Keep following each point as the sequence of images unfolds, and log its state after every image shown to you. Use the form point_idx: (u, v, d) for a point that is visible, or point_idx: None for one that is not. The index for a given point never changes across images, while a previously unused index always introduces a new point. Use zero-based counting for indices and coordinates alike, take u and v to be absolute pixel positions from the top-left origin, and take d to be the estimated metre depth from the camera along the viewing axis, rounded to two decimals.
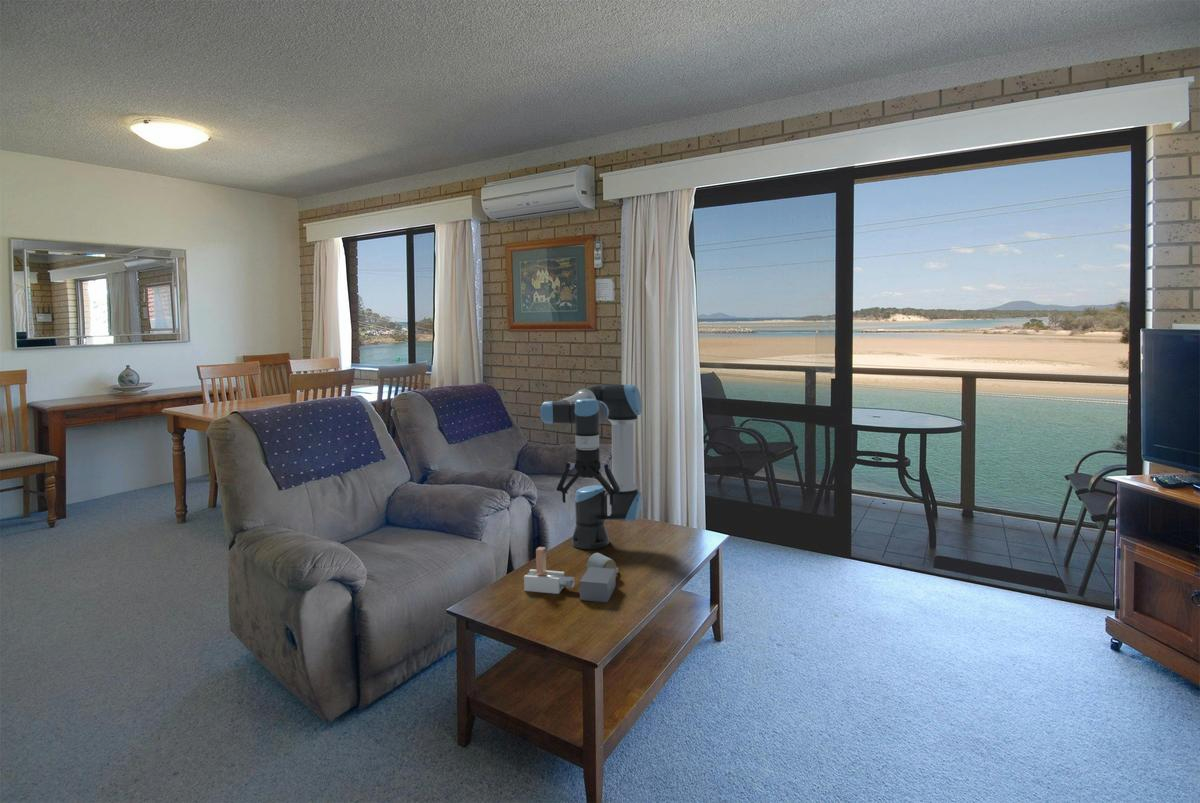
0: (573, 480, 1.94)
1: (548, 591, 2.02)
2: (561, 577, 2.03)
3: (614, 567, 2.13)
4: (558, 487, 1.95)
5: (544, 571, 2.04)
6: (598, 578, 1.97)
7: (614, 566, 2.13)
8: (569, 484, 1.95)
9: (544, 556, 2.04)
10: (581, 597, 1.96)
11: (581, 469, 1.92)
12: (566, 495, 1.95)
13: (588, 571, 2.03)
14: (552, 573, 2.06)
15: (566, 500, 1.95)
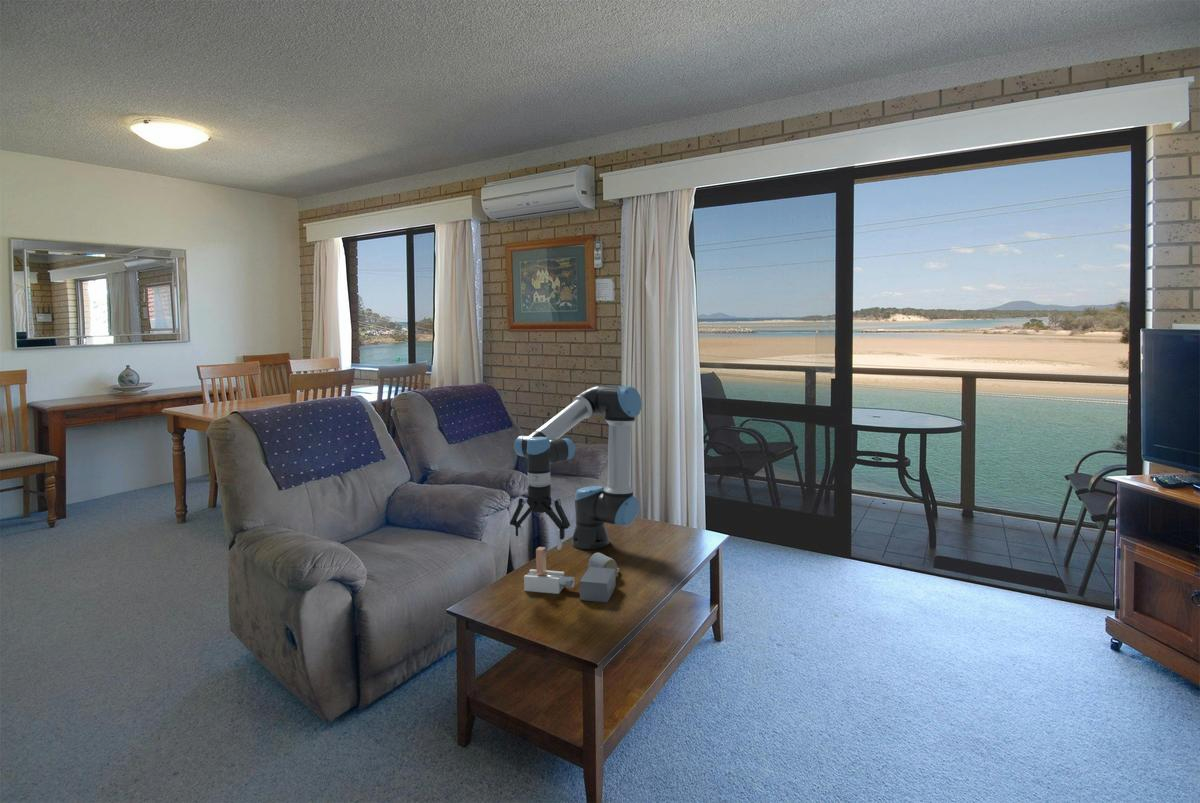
0: (525, 515, 2.02)
1: (548, 591, 2.02)
2: (561, 577, 2.03)
3: (615, 567, 2.13)
4: (511, 521, 2.04)
5: (544, 571, 2.04)
6: (598, 578, 1.97)
7: (615, 566, 2.13)
8: (522, 519, 2.03)
9: (544, 556, 2.04)
10: (581, 597, 1.96)
11: (533, 505, 2.01)
12: (519, 529, 2.03)
13: (588, 571, 2.03)
14: (552, 573, 2.06)
15: (519, 534, 2.04)
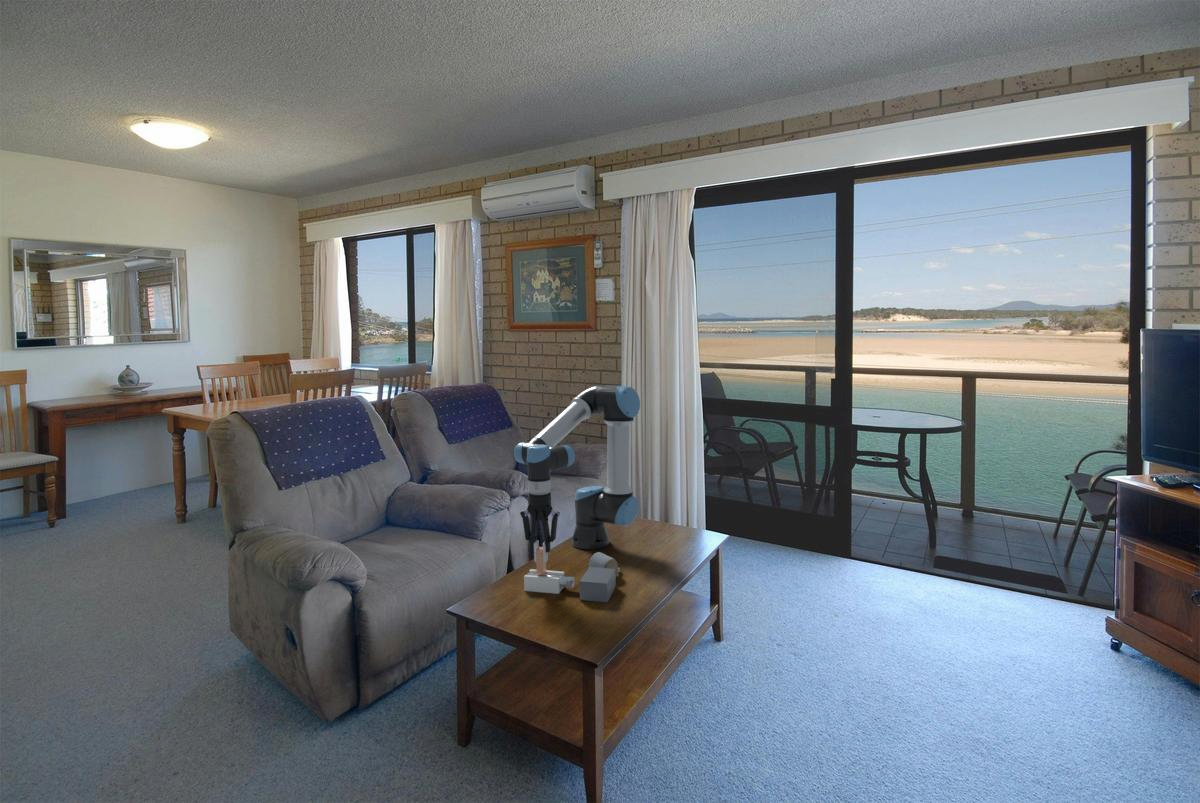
0: (534, 526, 2.02)
1: (548, 591, 2.02)
2: (561, 577, 2.03)
3: (616, 566, 2.13)
4: (526, 537, 2.03)
5: (544, 571, 2.04)
6: (598, 578, 1.97)
7: (616, 565, 2.13)
8: (533, 532, 2.03)
9: None
10: (581, 597, 1.96)
11: (533, 513, 2.01)
12: (534, 544, 2.03)
13: (588, 571, 2.03)
14: (552, 573, 2.06)
15: (534, 549, 2.03)
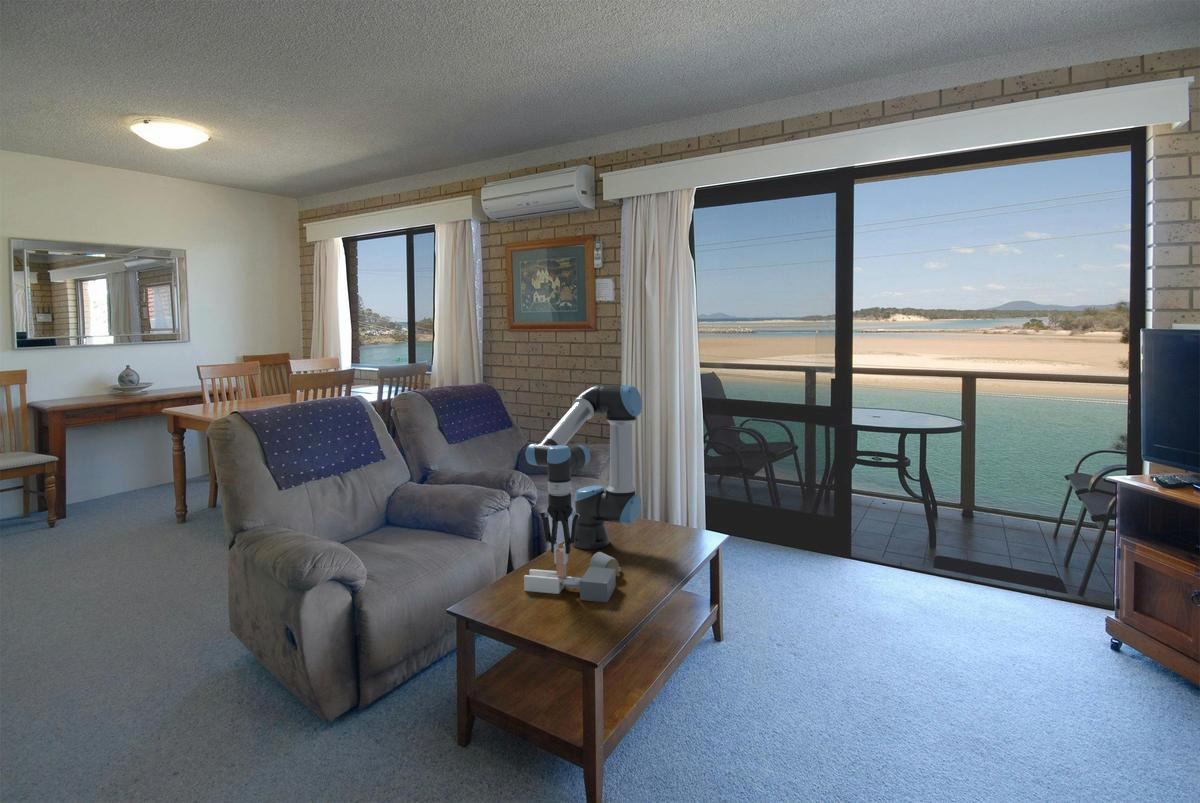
0: (554, 527, 2.01)
1: (548, 591, 2.02)
2: None
3: (617, 566, 2.14)
4: (546, 538, 2.02)
5: (564, 573, 2.03)
6: (598, 578, 1.97)
7: (617, 565, 2.14)
8: (553, 533, 2.01)
9: None
10: (581, 597, 1.96)
11: (554, 514, 1.99)
12: (554, 546, 2.01)
13: (588, 571, 2.03)
14: (552, 573, 2.06)
15: (554, 551, 2.01)
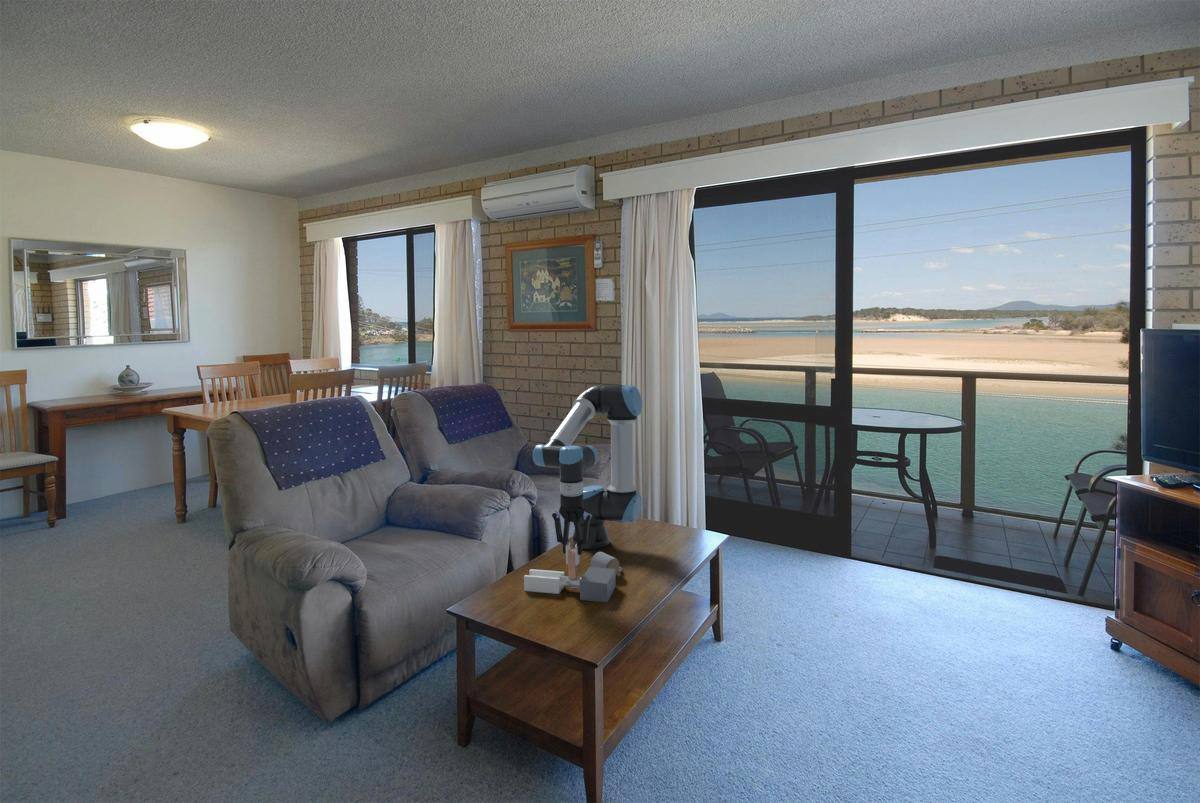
0: (566, 528, 2.00)
1: (548, 591, 2.02)
2: None
3: (617, 566, 2.14)
4: (558, 539, 2.01)
5: (576, 574, 2.02)
6: (598, 578, 1.97)
7: (617, 565, 2.14)
8: (565, 534, 2.00)
9: None
10: (581, 597, 1.96)
11: (566, 515, 1.98)
12: (566, 547, 2.00)
13: (588, 571, 2.03)
14: (552, 573, 2.06)
15: (566, 551, 2.01)
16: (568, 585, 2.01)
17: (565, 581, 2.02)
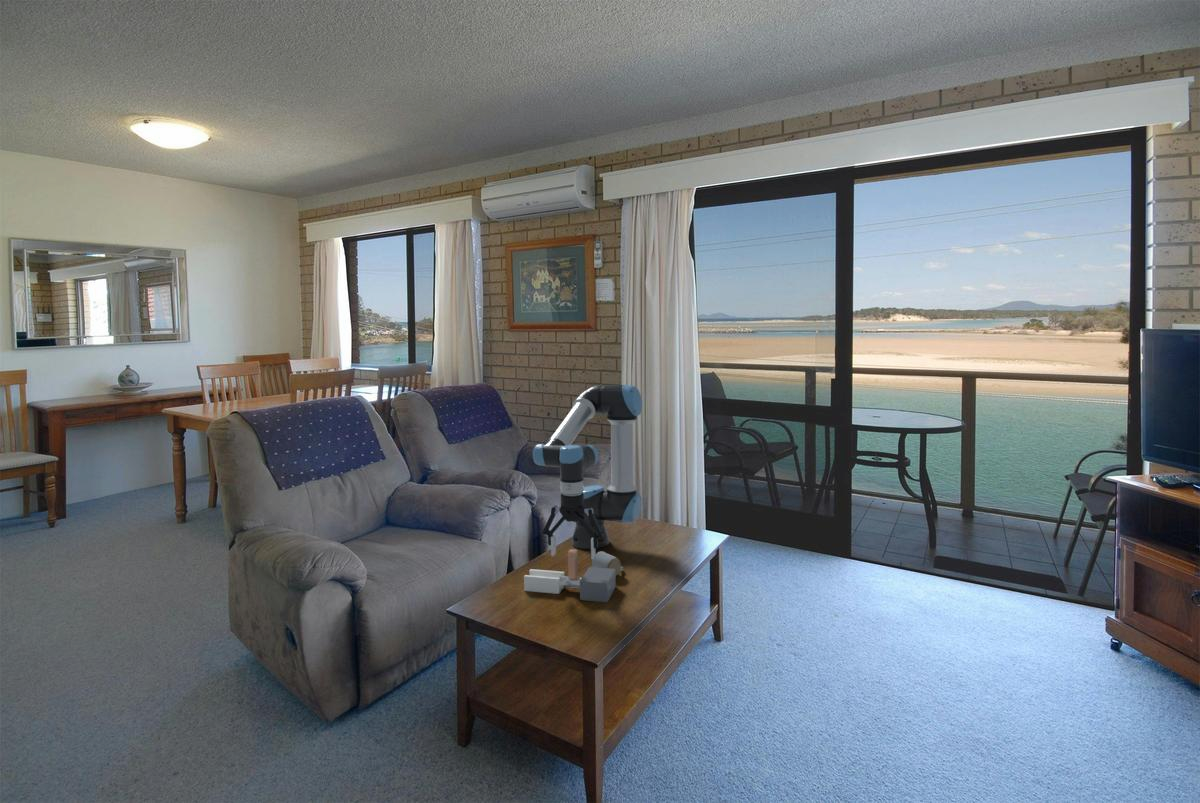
0: (558, 524, 2.00)
1: (548, 591, 2.02)
2: None
3: (619, 565, 2.14)
4: (544, 530, 2.02)
5: (576, 574, 2.02)
6: (598, 578, 1.97)
7: (619, 564, 2.14)
8: (554, 528, 2.01)
9: (575, 559, 2.01)
10: (581, 597, 1.96)
11: (566, 514, 1.98)
12: (551, 538, 2.01)
13: (588, 571, 2.03)
14: (552, 573, 2.06)
15: (552, 543, 2.01)
16: (568, 585, 2.01)
17: (565, 581, 2.02)
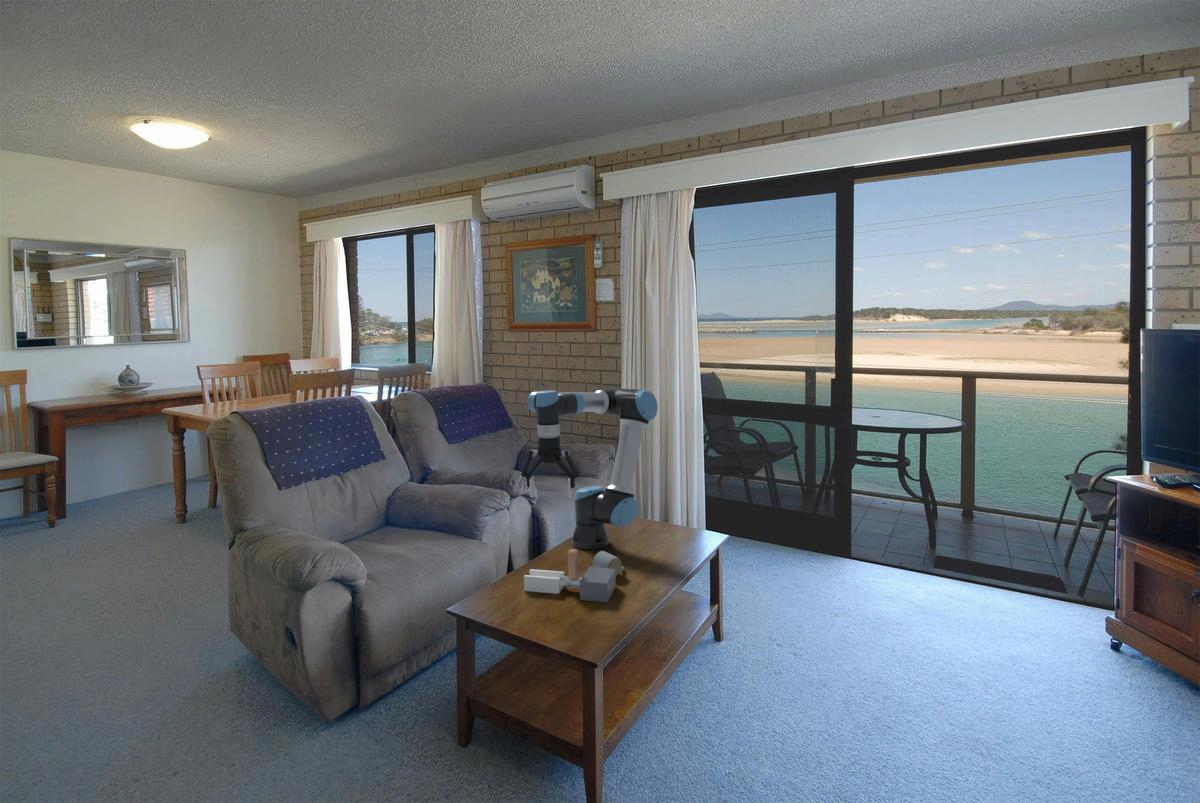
0: (536, 466, 2.09)
1: (548, 591, 2.02)
2: None
3: (620, 565, 2.15)
4: (522, 473, 2.11)
5: (576, 574, 2.02)
6: (598, 578, 1.97)
7: (620, 564, 2.15)
8: (533, 470, 2.10)
9: (575, 559, 2.01)
10: (581, 597, 1.96)
11: (543, 456, 2.08)
12: (530, 480, 2.10)
13: (588, 571, 2.03)
14: (552, 573, 2.06)
15: (530, 485, 2.11)
16: (568, 585, 2.01)
17: (565, 581, 2.02)
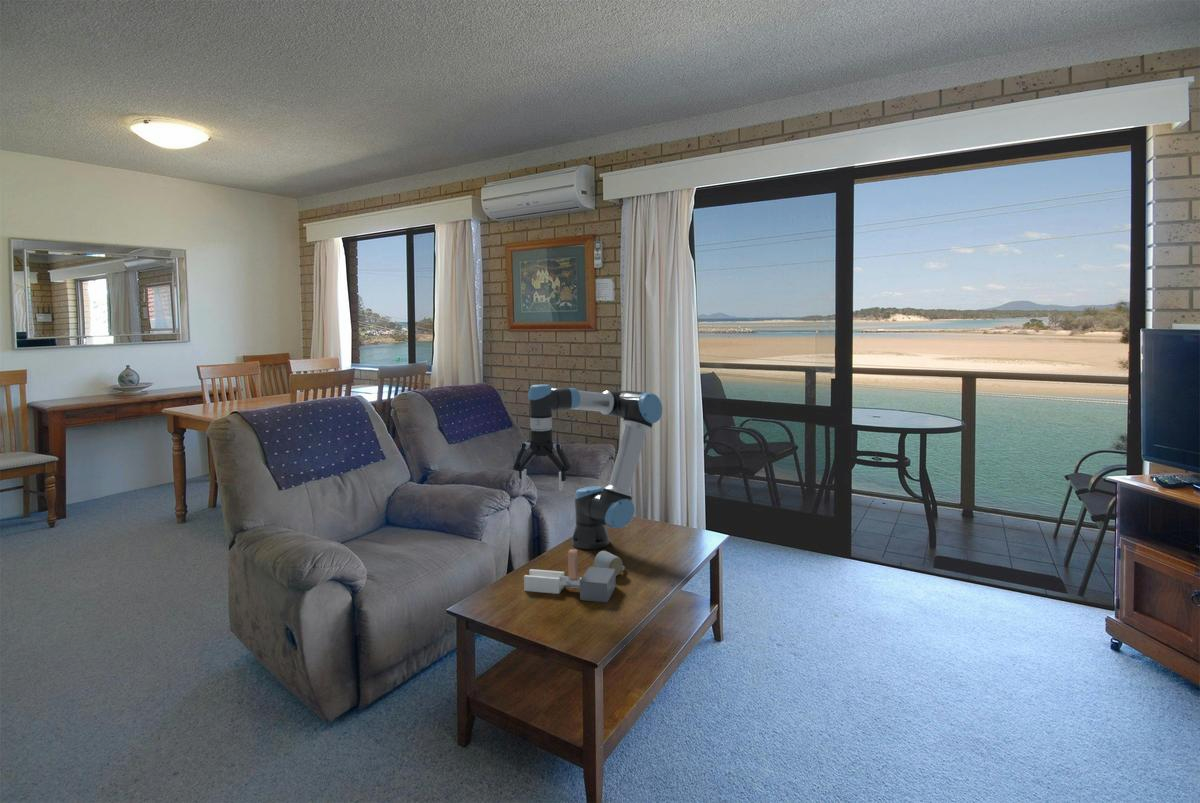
0: (528, 459, 2.13)
1: (548, 591, 2.02)
2: None
3: (621, 565, 2.15)
4: (515, 465, 2.15)
5: (576, 574, 2.02)
6: (598, 578, 1.97)
7: (621, 564, 2.15)
8: (525, 462, 2.14)
9: (575, 559, 2.01)
10: (581, 597, 1.96)
11: (535, 448, 2.11)
12: (522, 472, 2.14)
13: (588, 571, 2.03)
14: (552, 573, 2.06)
15: (522, 477, 2.14)
16: (568, 585, 2.01)
17: (565, 581, 2.02)
